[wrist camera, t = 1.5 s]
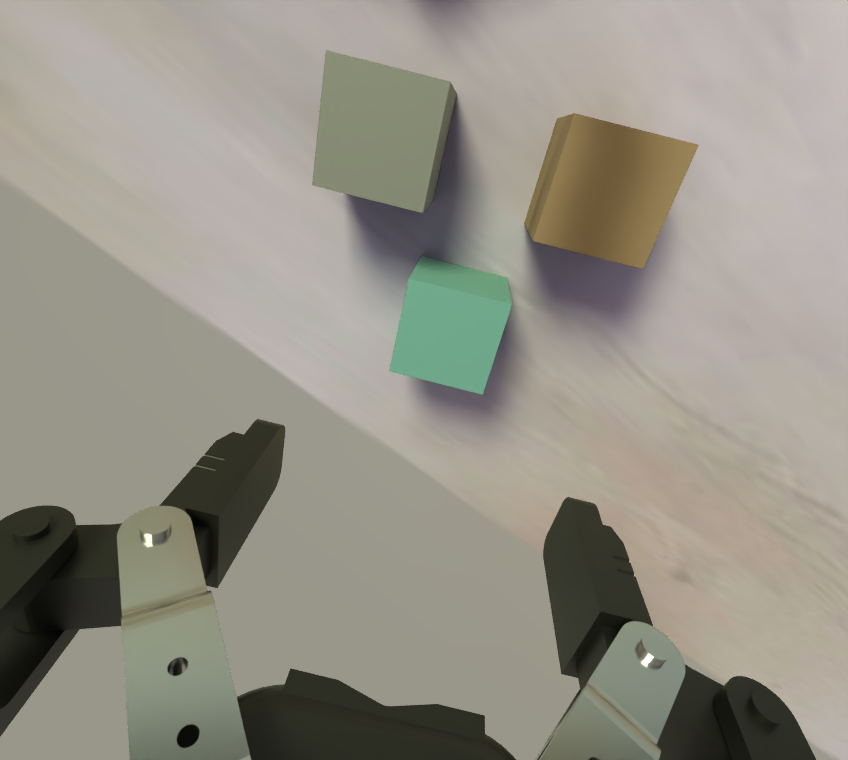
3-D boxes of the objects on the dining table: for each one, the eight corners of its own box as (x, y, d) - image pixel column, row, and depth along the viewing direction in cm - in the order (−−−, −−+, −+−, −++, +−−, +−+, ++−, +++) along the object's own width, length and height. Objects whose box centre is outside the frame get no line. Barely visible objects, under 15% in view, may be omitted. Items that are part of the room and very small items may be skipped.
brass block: (656, 143, 23) (698, 145, 18) (614, 246, 25) (643, 269, 21) (556, 118, 23) (574, 113, 18) (523, 223, 25) (532, 241, 21)
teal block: (507, 277, 26) (512, 304, 22) (482, 355, 29) (482, 394, 24) (421, 255, 26) (408, 278, 22) (403, 335, 29) (389, 371, 24)
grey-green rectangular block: (456, 93, 23) (450, 81, 18) (433, 200, 25) (422, 213, 21) (356, 68, 23) (325, 50, 18) (342, 177, 25) (312, 185, 21)
